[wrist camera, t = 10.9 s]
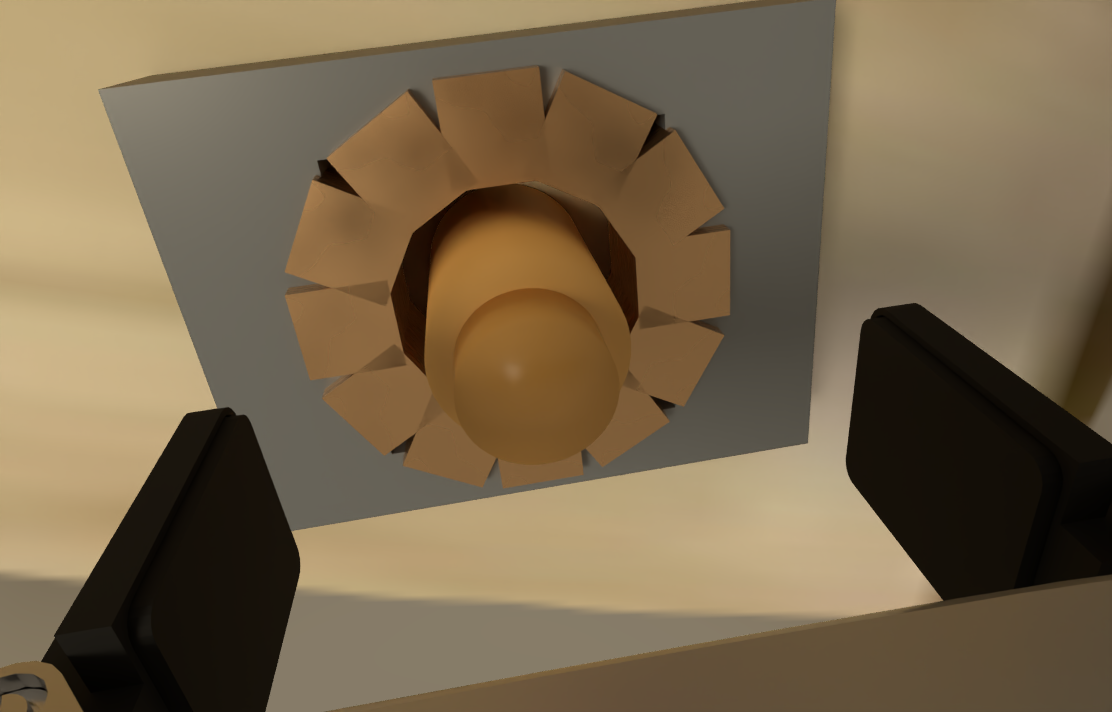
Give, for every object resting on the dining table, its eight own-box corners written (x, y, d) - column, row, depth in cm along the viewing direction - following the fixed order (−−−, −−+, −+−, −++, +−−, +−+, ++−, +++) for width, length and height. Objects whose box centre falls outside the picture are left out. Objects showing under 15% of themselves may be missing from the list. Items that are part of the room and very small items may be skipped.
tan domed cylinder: (574, 173, 20) (644, 272, 13) (587, 316, 22) (654, 469, 15) (416, 195, 20) (400, 308, 13) (445, 338, 22) (444, 505, 15)
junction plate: (781, -3, 19) (836, -2, 16) (768, 394, 24) (807, 442, 22) (150, 75, 18) (98, 89, 15) (286, 473, 23) (264, 535, 20)
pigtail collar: (684, 34, 19) (731, 42, 16) (692, 391, 24) (729, 450, 21) (265, 88, 18) (227, 106, 15) (363, 444, 23) (350, 514, 20)
